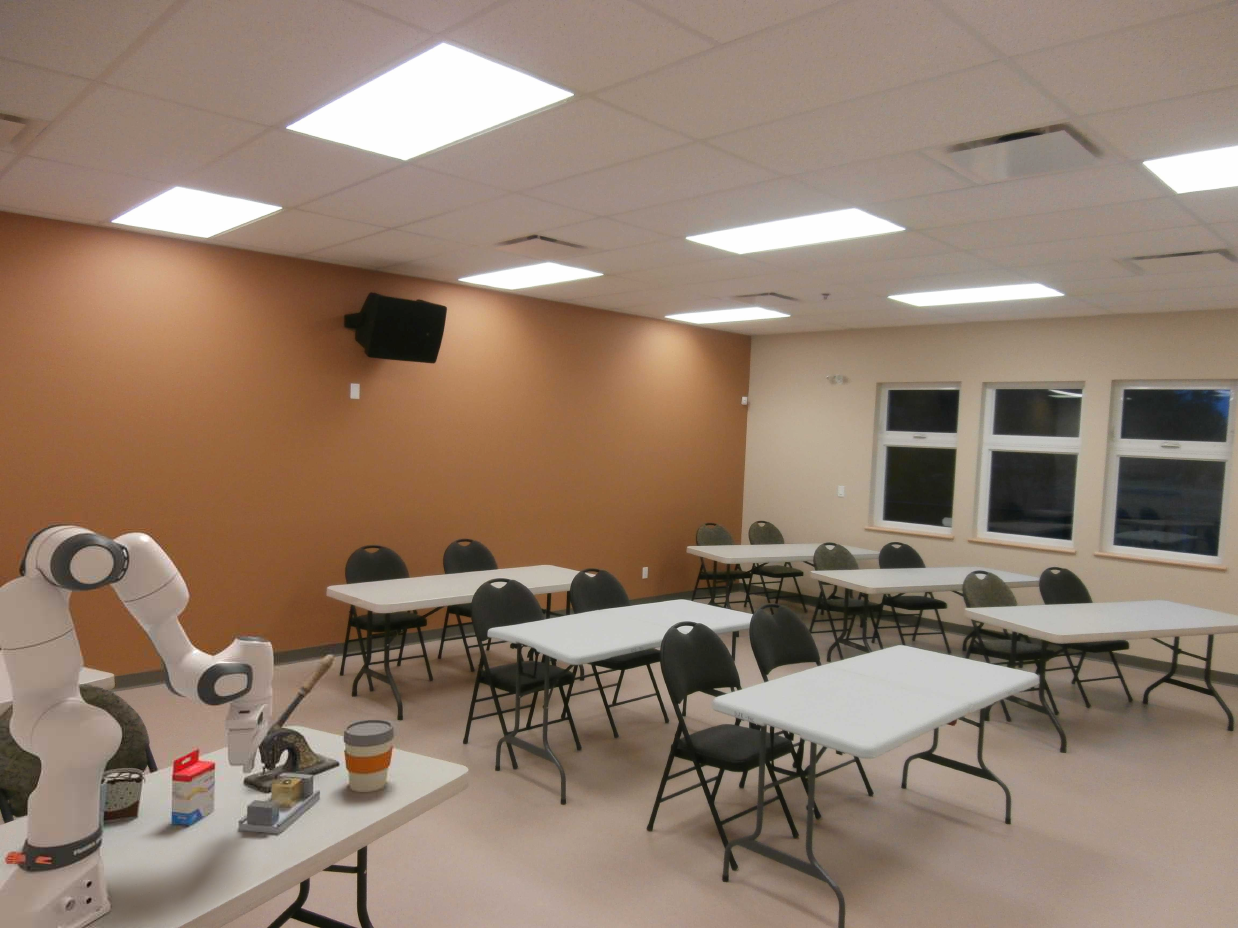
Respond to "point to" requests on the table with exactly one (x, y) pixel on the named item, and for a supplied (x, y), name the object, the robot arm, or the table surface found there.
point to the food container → (122, 794)
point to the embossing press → (291, 743)
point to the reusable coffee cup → (368, 753)
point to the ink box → (192, 789)
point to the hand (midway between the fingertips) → (248, 770)
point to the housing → (287, 792)
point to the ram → (263, 812)
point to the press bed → (287, 814)
